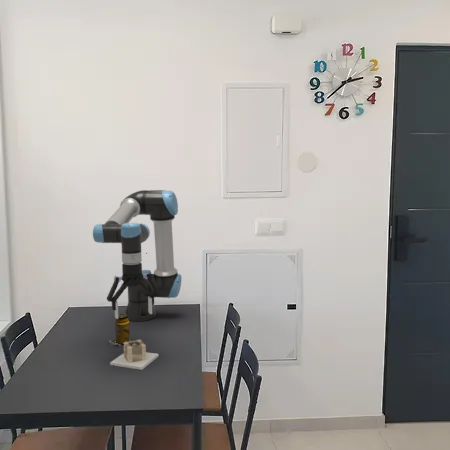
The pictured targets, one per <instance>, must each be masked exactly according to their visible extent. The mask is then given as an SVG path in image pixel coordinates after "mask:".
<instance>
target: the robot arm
mask: <svg viewBox="0 0 450 450" xmlns="http://www.w3.org/2000/svg"><path fill="white" fill-rule="evenodd" d="M178 207H179V204H178V199H177V196H176V194H175V192H174V191H172V190H166V189H163V190H162V189H160V190H159V189H154V190H153V189H151V190H146V189H143V190H138V191H135V192H133V193H130V194H129V195H128V196H126V197H125V198H124V199H122V201H121V202H120V204H119V207H118V208H117V210H116V211H115V212H114V213H113V214H112V215H111V216H110V217H109V218H108V219H107V221H106V222H104V224H102V223H100V224H95V225H94V226H93V228H92V229H93V230H92V237H93V238H92V239H93V241H94V242H95V243H98V244H99V243H100V244H101V243H102V244H121V263H122V264H121V265H122V266H121V267H122V269H121V270H122V275H121V276H118V275H115V276H114V278H113V283H112V284H111V287H110V290H109V292H108V294H107V296H106V300H107V301H108V302H110V303H111V309H112V311H114V318H115V320H116V319H118V315H119V304H118V303H119V302H118V299H119V298H120V296H122V294H123V292H124V291H125V290H126V289H127V299H128V300H127V306H126V309H125V312H124V314H126V315H128V321H129V322H130V321H131V322H144V321H146V322H147V321H150V320H152V319H154V318H156V309H155V307H154V305H155V298H163V299H164V298H167V299H171V298H173V299H174V298H178V296H179V294H180V291H181V288H182V287H181V286H182V275H181V273H178V269H177V268H176V267H175V260H174V244H173V243H174V239H173V238H174V237H173V221H174V219H175V216H177V215H178V211H179V209H178ZM139 215H140V216H141V215H144V216H149V220H150V221H151V222H152V223H153V231H154V232H153V233H154V246H155V247H154V248H155V249H154V250H155V261H156V262H155V263H156V265H155V266H156V269H154V271H153V273H152V272H151V271H152V270H149V269H143V263H142V261H143V260H142V243H144V242H146V241H147V240H148V239H149V238H150V234H151V232H150V228H149V227H148V226H147V225H146V224H144V223H138V222H131V221H132V219H133V218H136V217H137V216H139ZM121 281H122V283H121V285H120V287H119V288H118V286H119V283H120V282H121ZM117 288H118V290H117Z"/></svg>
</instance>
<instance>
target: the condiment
mask: <svg viewBox="0 0 450 450" xmlns="http://www.w3.org/2000/svg"><path fill="white" fill-rule="evenodd" d="M114 325H115V329H114V331H115V339H114V340H113V339H112V340H111V339H110V340H108V342H109V343H110V344H111V343H112V342H114V341H116V343H118V344H124V342H130V341H131V337H130V335H131V334H130V320H128V315H126V314H125V313H122V314H121V313H120V314H119V313H118V319H116V318H115V323H114ZM114 343H115V342H114Z"/></svg>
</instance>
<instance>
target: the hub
mask: <svg viewBox="0 0 450 450" xmlns="http://www.w3.org/2000/svg"><path fill="white" fill-rule="evenodd" d="M135 345H137V344H135V343H134V344H132V346H135ZM159 357H160V356H159V353H153V352H147V351H146V360H143V361H137V362H132V363H128V361H127V360H126V359H125V357H124V352H123V353H122V354H120V355H119V356H118V357H116V358H114V359H113V360H112V361H110V362H109V365H110V366H113V365H114V366H115V367H121V368H127V369H134V370H135V369H136V370H144V369H145V368H146V367H147V366H149V365H150V364H151V363H153V362H154V361H155V360H157V358H159Z"/></svg>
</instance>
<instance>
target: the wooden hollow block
mask: <svg viewBox="0 0 450 450" xmlns="http://www.w3.org/2000/svg"><path fill="white" fill-rule="evenodd" d="M134 343H135V344H137V345H135V346H132V344H134ZM146 347H147V345H146V344H145V343H144V342H143V341H142V340H141V339H136V340H130V342H124V345H123V353H124V357H125V359H126V360H127V361H128V363H132V362H137V361H143V360H146V352H147V350H146Z"/></svg>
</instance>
